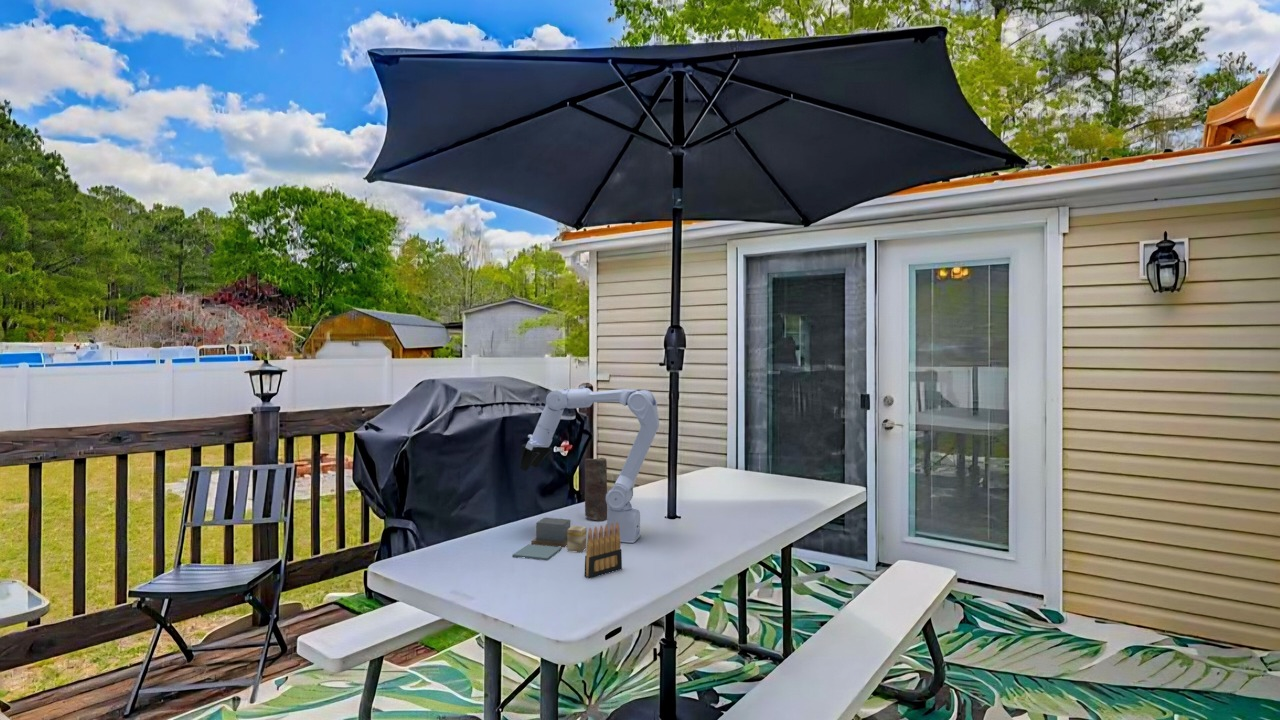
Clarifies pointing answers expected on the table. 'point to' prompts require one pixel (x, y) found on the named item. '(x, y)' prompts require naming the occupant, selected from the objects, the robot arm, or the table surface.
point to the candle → (596, 489)
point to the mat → (537, 552)
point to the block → (576, 538)
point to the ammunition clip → (603, 551)
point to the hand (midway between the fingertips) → (528, 468)
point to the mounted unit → (551, 532)
